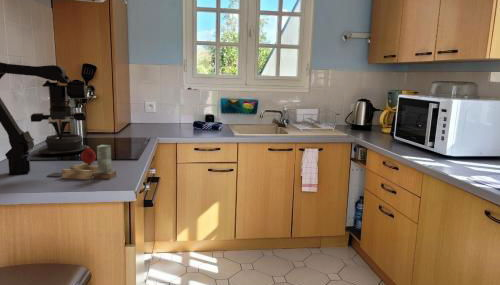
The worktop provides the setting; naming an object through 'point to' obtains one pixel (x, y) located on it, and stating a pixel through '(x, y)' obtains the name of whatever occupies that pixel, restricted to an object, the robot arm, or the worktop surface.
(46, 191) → the worktop surface
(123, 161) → the worktop surface
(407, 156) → the worktop surface
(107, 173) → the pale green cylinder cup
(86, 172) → the tunnel
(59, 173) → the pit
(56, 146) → the casserole
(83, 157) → the onion
